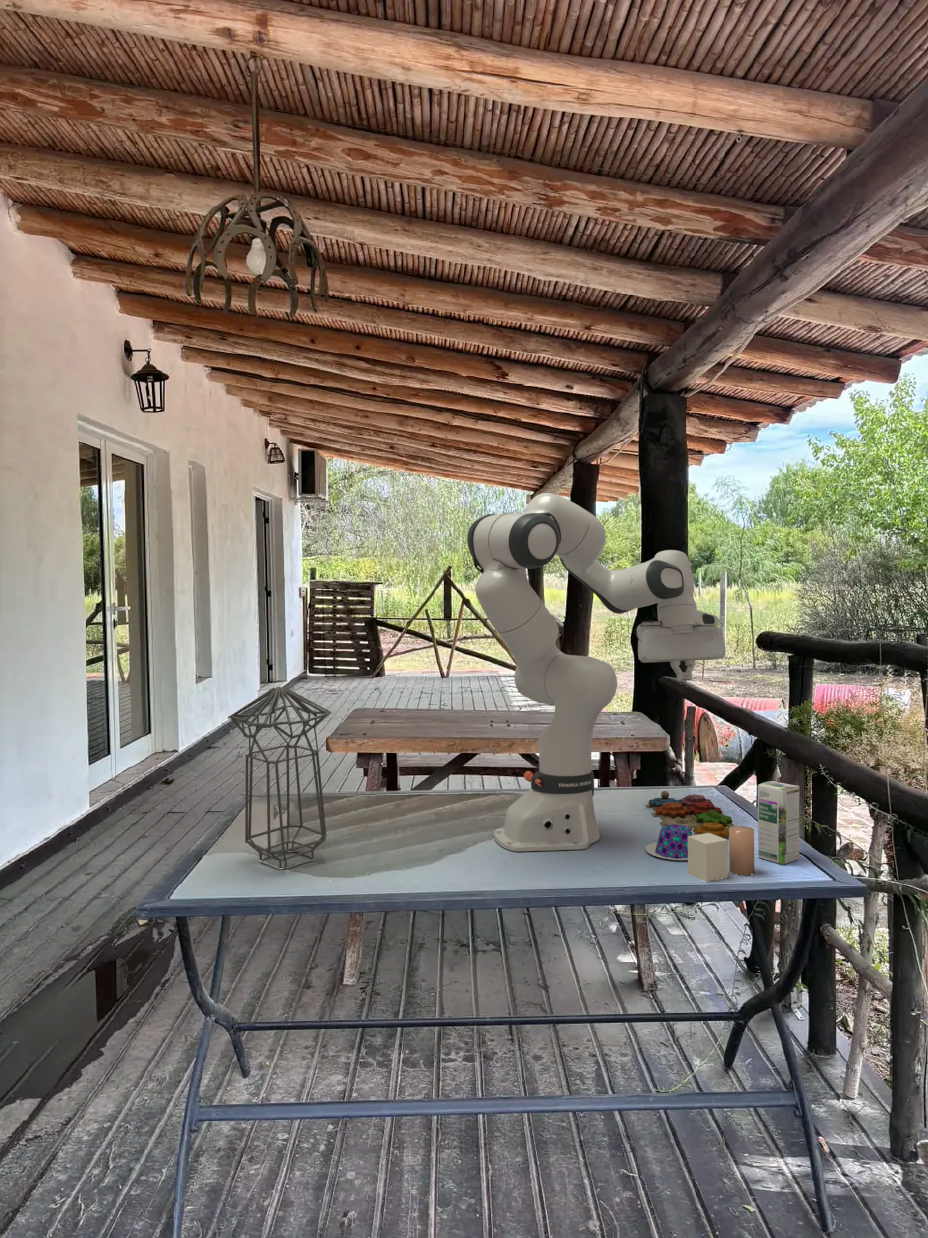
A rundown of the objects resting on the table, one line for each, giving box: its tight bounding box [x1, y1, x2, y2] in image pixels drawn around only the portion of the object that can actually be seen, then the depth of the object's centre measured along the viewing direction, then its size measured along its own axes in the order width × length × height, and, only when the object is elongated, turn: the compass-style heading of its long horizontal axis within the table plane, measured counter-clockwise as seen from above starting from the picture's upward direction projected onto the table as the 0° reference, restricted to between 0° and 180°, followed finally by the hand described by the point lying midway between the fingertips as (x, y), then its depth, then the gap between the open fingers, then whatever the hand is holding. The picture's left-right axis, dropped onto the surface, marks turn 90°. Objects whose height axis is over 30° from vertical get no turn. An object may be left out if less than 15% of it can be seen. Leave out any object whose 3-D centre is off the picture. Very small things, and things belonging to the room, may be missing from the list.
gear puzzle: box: [644, 790, 735, 838], centre depth 187 cm, size 31×16×4 cm, turn 1°
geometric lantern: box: [227, 686, 332, 868], centre depth 163 cm, size 16×16×35 cm
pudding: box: [645, 824, 693, 861], centre depth 165 cm, size 12×12×5 cm
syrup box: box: [757, 780, 800, 866], centre depth 160 cm, size 6×6×14 cm
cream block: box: [687, 833, 729, 883], centre depth 151 cm, size 5×5×7 cm
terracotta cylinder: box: [728, 825, 755, 876], centre depth 153 cm, size 4×4×8 cm
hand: (684, 680), depth 188 cm, fingers closed
